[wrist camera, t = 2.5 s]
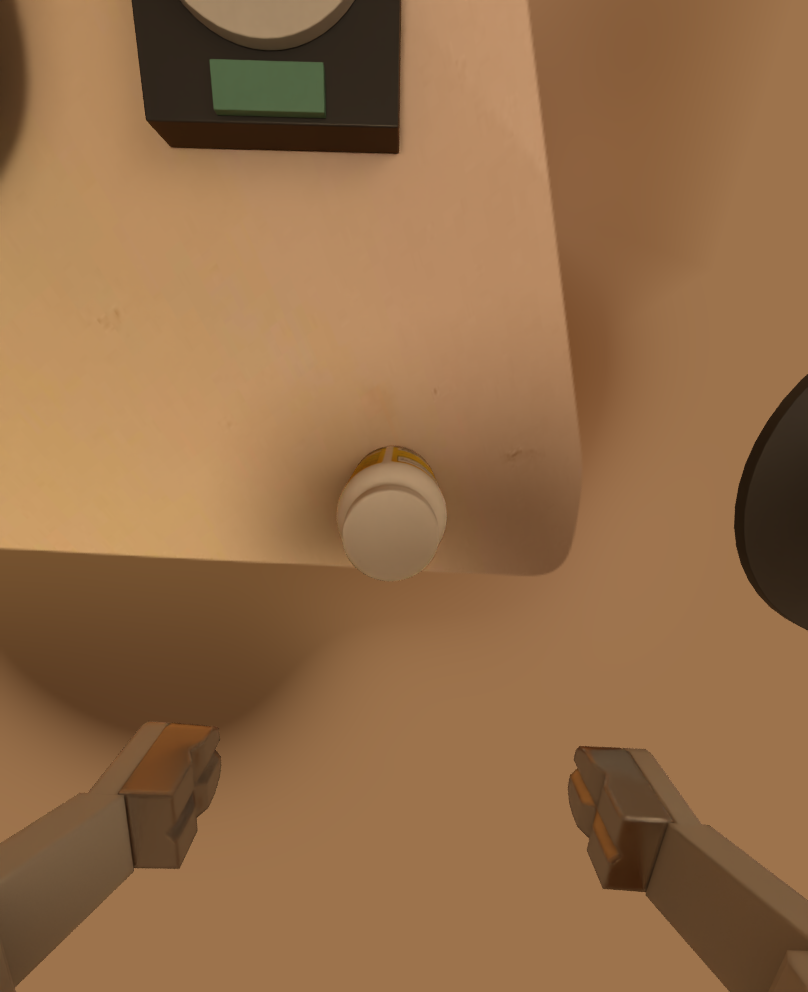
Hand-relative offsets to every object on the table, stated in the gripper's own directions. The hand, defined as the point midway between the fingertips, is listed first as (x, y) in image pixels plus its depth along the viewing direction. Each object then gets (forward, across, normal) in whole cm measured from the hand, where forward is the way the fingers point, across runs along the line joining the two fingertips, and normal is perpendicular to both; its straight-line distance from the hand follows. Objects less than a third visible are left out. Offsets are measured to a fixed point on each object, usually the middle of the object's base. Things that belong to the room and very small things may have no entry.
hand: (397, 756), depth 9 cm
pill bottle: (+21, +1, -1) cm, 21 cm away
